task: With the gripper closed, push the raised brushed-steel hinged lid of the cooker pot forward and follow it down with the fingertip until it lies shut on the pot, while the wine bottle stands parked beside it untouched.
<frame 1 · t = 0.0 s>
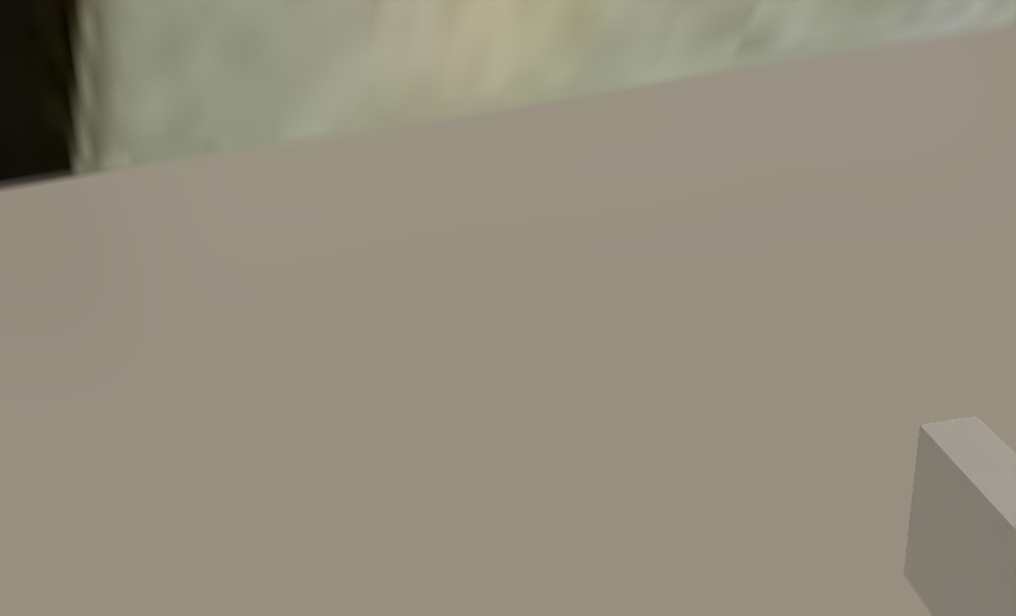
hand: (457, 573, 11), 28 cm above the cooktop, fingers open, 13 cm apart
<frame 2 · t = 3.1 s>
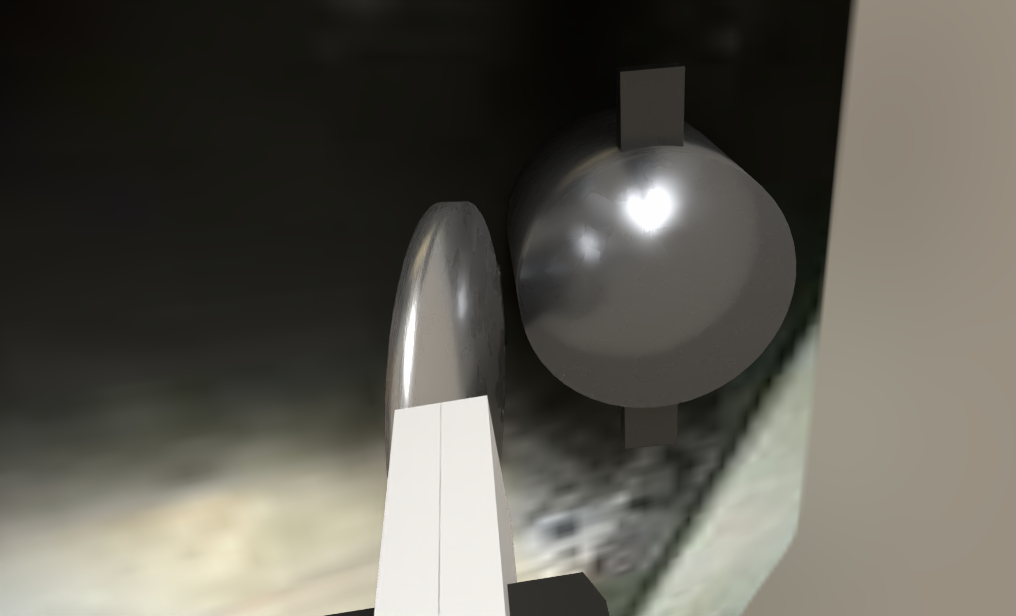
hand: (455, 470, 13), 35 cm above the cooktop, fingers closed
pot: (620, 221, 49), on the cooktop
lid: (451, 386, 34), point 17 cm above the cooktop, hinge at 103.0°
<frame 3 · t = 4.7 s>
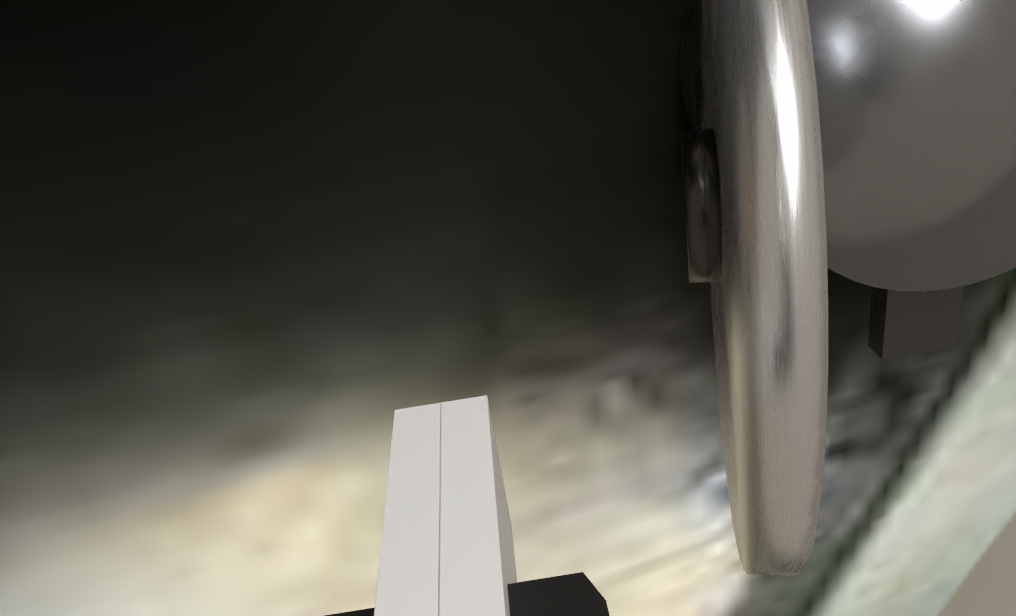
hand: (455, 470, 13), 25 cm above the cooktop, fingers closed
pot: (837, 48, 35), on the cooktop
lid: (724, 228, 20), point 17 cm above the cooktop, hinge at 103.0°
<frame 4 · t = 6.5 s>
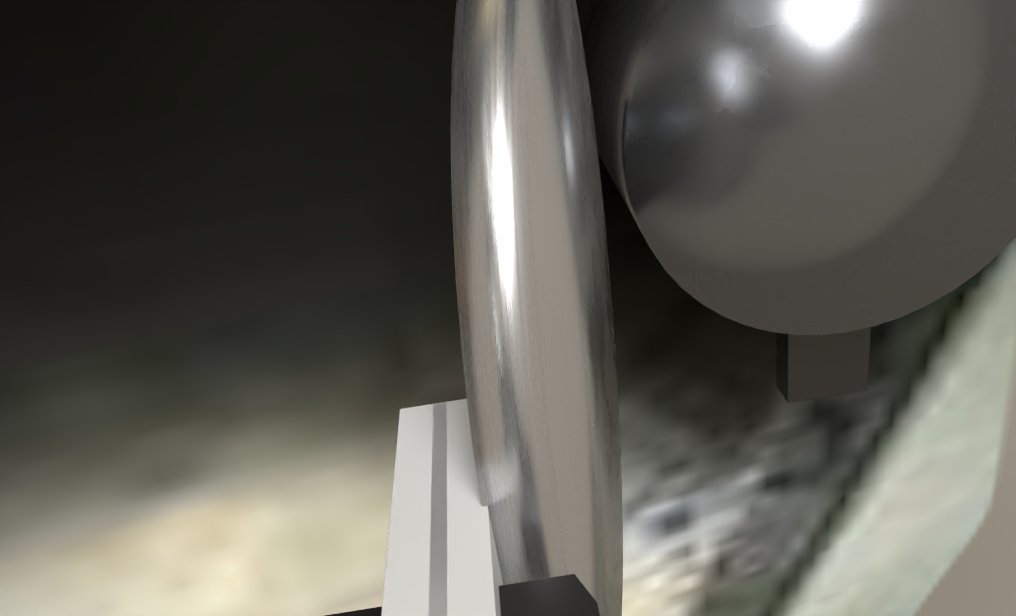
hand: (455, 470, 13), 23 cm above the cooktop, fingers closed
pot: (748, 68, 33), on the cooktop
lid: (551, 294, 18), point 17 cm above the cooktop, hinge at 100.7°, touching gripper
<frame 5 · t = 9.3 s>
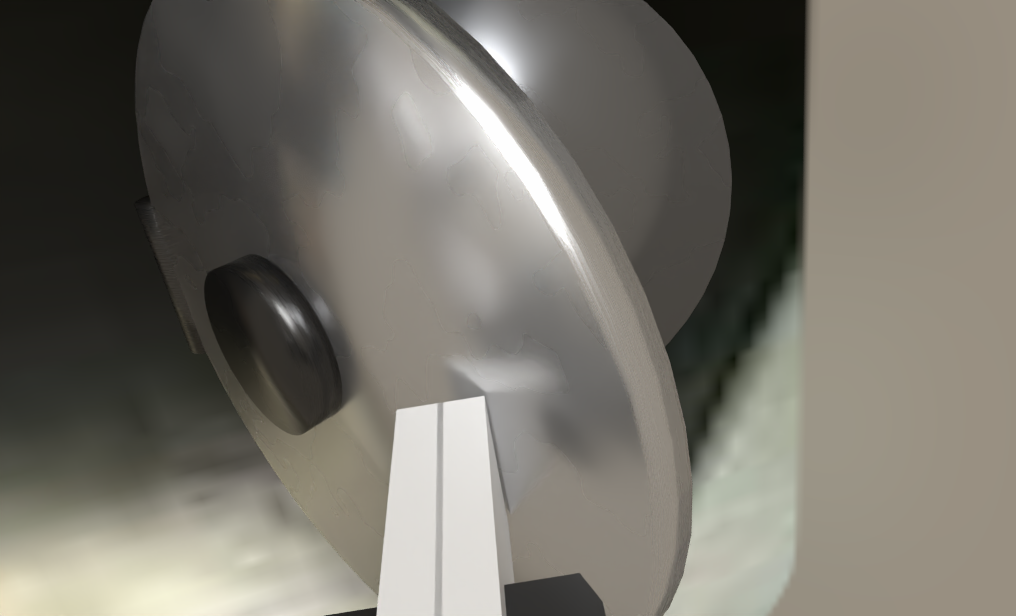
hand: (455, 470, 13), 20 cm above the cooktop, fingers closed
pot: (471, 127, 31), on the cooktop
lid: (330, 355, 17), point 16 cm above the cooktop, hinge at 48.9°, touching gripper
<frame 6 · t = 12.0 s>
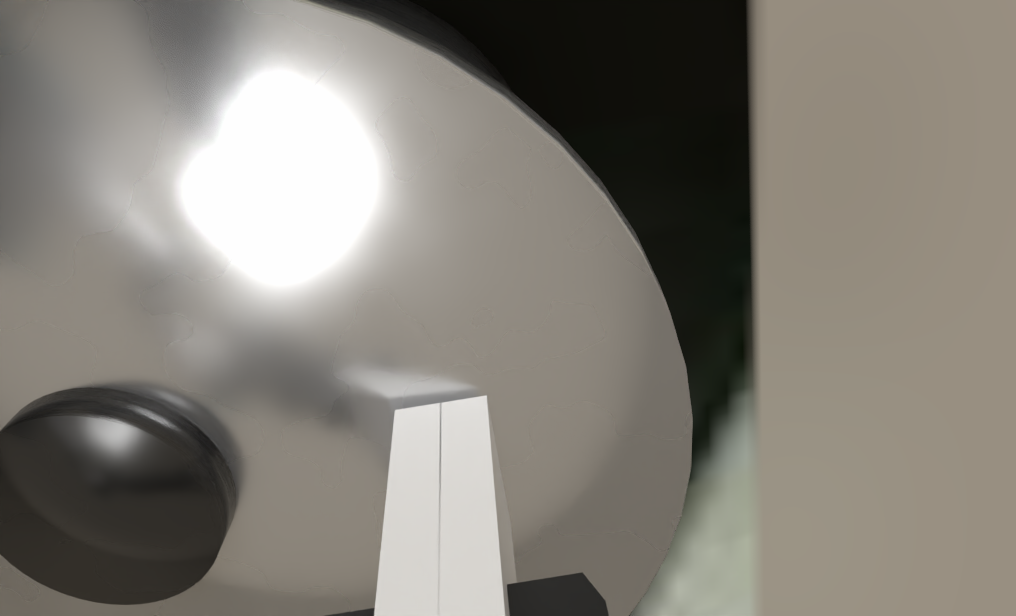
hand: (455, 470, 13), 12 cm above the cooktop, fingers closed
pot: (317, 224, 24), on the cooktop
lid: (210, 470, 14), point 12 cm above the cooktop, hinge at 4.6°, touching gripper
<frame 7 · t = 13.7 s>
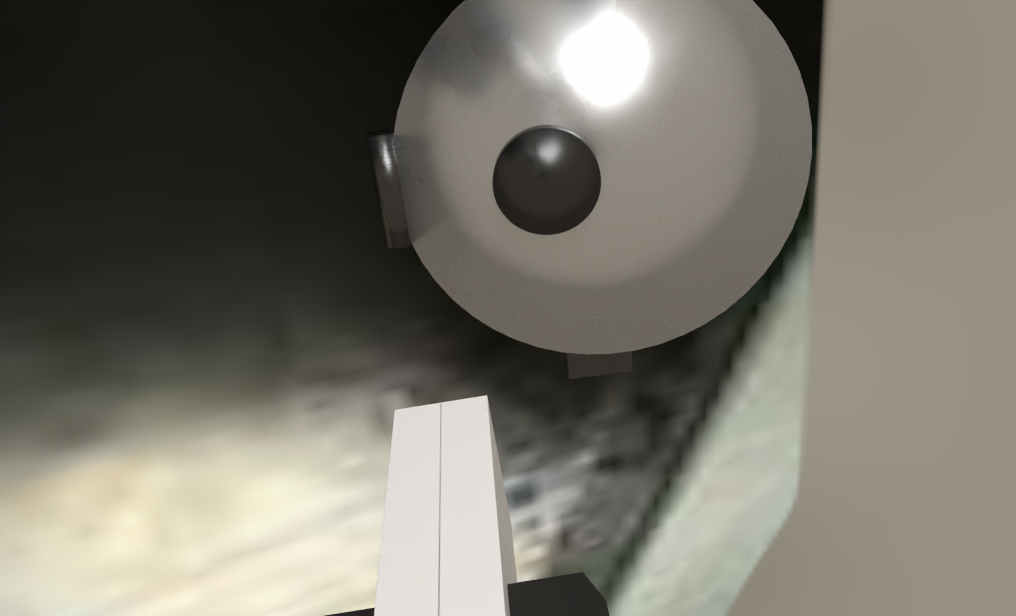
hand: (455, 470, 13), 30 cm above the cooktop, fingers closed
pot: (562, 109, 41), on the cooktop
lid: (588, 172, 30), point 12 cm above the cooktop, hinge at 4.6°
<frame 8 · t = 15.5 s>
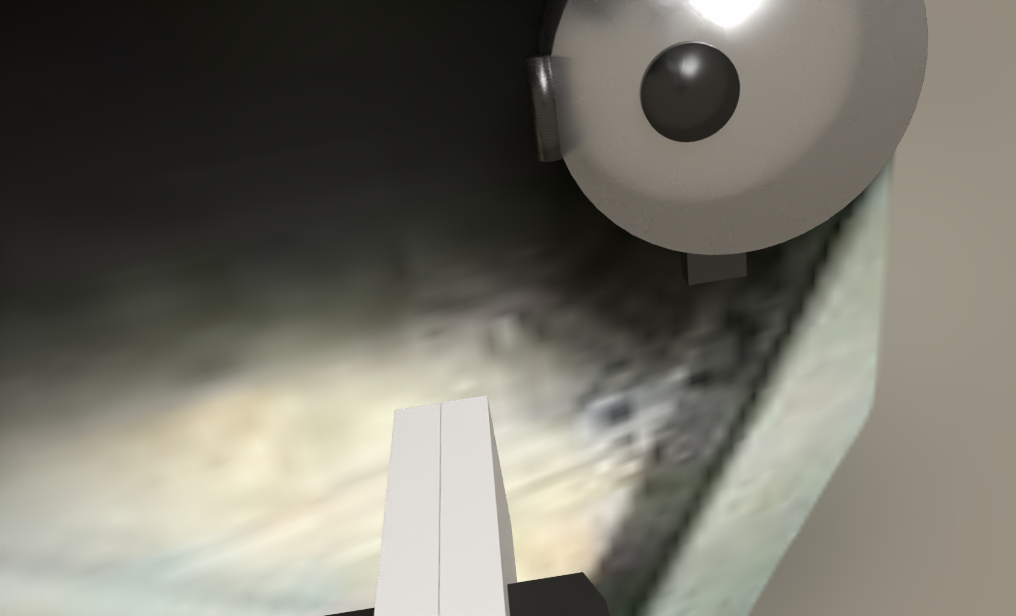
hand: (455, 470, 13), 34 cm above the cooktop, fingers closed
pot: (665, 41, 44), on the cooktop
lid: (725, 84, 34), point 12 cm above the cooktop, hinge at 4.6°
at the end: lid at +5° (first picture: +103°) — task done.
